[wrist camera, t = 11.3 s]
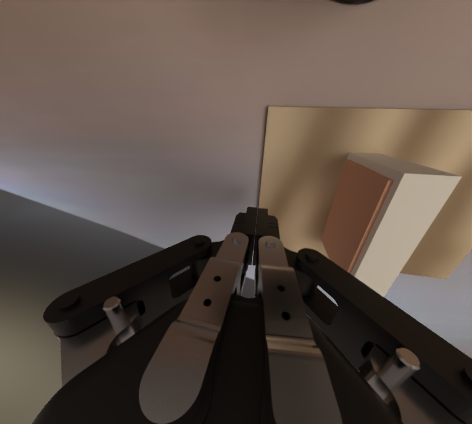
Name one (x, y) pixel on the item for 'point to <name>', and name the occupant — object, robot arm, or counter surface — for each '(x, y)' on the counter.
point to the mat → (366, 141)
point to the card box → (382, 215)
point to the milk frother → (354, 1)
